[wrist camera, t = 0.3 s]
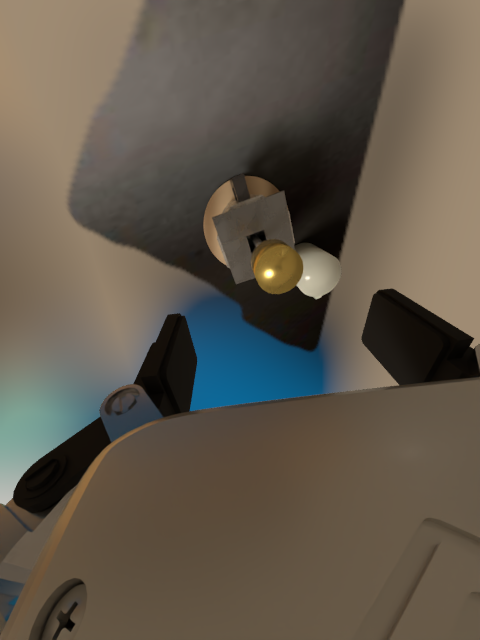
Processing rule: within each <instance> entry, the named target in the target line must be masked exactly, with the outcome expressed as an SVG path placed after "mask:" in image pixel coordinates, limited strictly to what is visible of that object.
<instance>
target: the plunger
mask: <svg viewBox="0 0 480 640" xmlns="http://www.w3.org/2000/svg"><path fill="white" fill-rule="evenodd" d="M246 237H247V240H248V243H249V247H250V250H251V252H253V251H254V252H253V254H252V257H251V267H252V270H253V272H254V275H255V277H256V280H257V282H258V284H259V286H260V287H261V288H262V289H263V290H265V291H266V292H269V293H272V294H281V293H285V292H287V291H289V290H291V289H292V288H294V287H295V286H296V285H297V284H298V282H299V281H300V279H301V277H302V274H303V261H302V258H301V257H300V255H299V254H298V253H297V252H296V251H295V250H294V249H292V248H291V247H290V246H289V245H287V244H286V243H285V242H283V241H281V240H278V239H269V240H265V236H264V232H263V230H262V231H259V232H257V233H254V234H251V235H248V236H246Z"/></svg>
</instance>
